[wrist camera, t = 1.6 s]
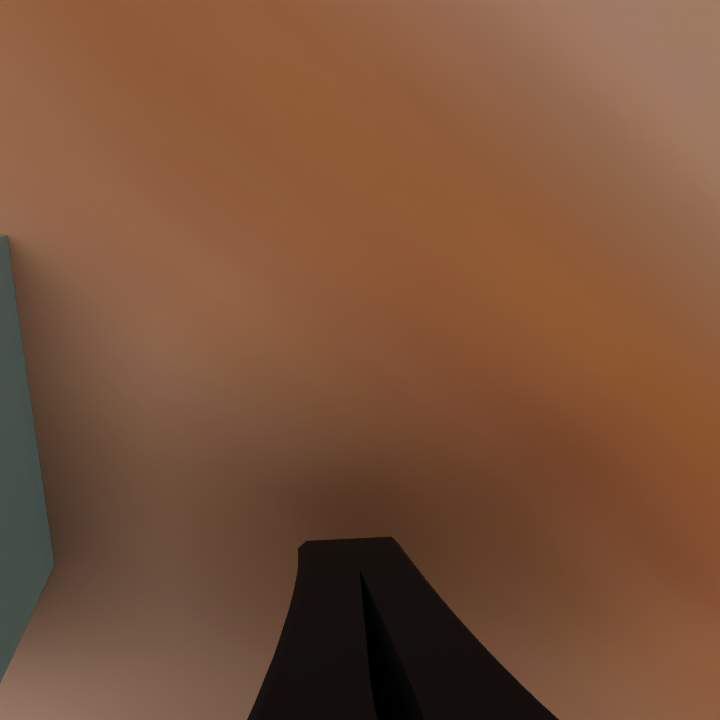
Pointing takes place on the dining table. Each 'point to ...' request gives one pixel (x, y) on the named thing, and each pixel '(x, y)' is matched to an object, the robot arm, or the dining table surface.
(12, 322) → the slab
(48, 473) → the dining table surface
